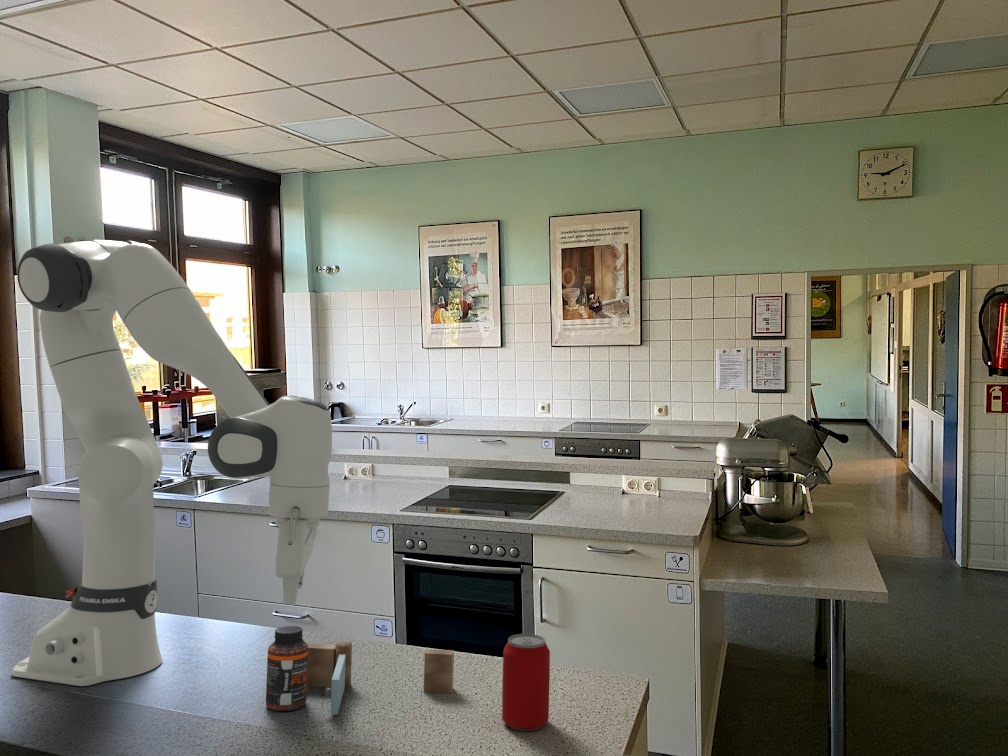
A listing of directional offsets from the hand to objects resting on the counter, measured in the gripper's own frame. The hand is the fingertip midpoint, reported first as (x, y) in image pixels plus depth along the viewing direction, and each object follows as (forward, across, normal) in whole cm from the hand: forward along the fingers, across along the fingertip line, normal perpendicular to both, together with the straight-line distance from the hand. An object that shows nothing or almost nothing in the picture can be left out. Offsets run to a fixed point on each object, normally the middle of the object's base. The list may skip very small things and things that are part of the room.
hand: (293, 595), depth 117 cm
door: (+16, 0, -7) cm, 17 cm away
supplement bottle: (+16, 0, 0) cm, 17 cm away
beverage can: (+15, -11, -34) cm, 39 cm away
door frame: (+16, +6, -12) cm, 21 cm away
